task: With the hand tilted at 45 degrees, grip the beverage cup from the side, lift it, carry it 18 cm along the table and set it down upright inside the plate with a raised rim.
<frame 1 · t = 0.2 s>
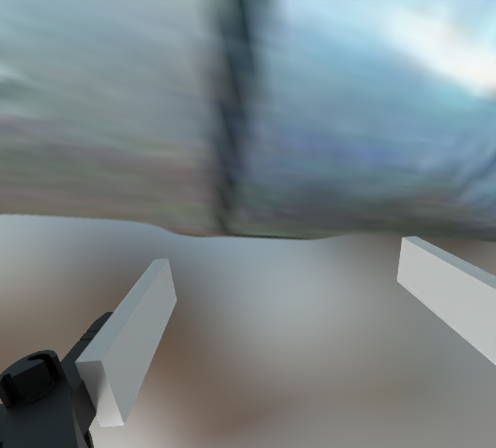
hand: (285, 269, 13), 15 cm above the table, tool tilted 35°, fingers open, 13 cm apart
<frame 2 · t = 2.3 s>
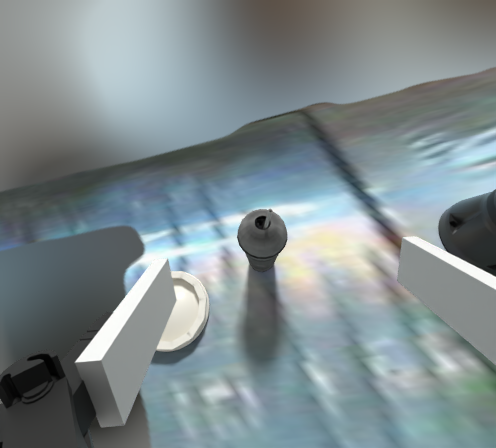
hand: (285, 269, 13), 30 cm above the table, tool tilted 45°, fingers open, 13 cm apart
beverage cup: (261, 260, 45), on the table
plate: (172, 309, 41), on the table
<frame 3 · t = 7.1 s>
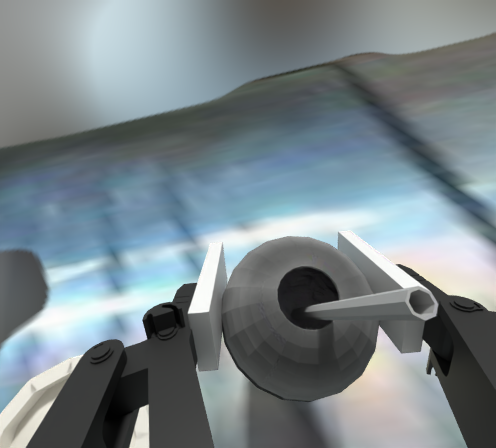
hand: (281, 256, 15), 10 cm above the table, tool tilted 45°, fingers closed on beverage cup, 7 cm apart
beverage cup: (277, 326, 22), on the table, touching gripper
plate: (80, 447, 18), on the table
when the fingers open (12 cm above the table, at t = 14.6 s): beverage cup drops 2 cm, resting on plate.
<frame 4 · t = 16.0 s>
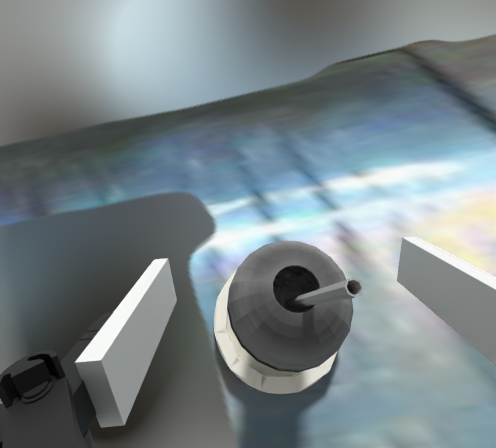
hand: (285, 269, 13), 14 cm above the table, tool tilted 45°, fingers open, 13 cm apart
beverage cup: (275, 318, 25), point 1 cm above the table, touching plate
plate: (275, 318, 25), on the table
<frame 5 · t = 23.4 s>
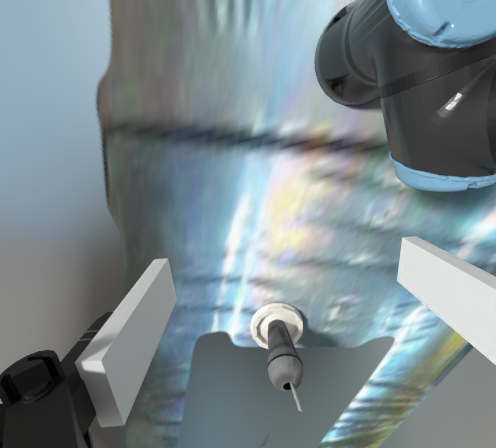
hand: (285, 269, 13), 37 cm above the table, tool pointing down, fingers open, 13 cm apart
beverage cup: (276, 326, 59), point 1 cm above the table, touching plate
plate: (276, 324, 59), on the table
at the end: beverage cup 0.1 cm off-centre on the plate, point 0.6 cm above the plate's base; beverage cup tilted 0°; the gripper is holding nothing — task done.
